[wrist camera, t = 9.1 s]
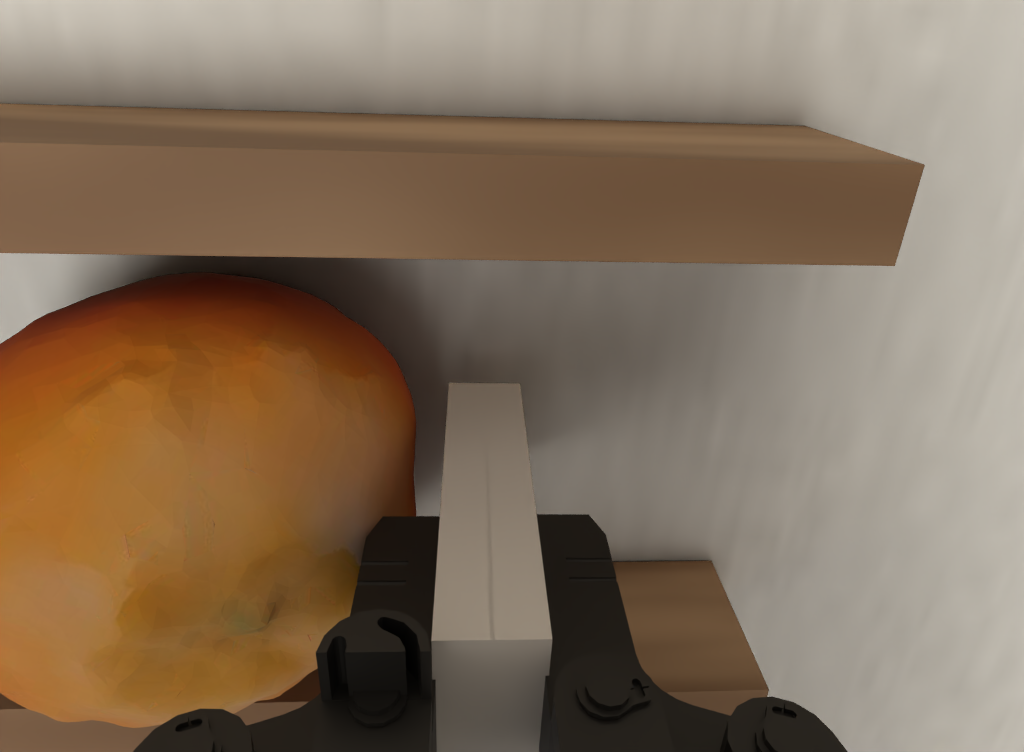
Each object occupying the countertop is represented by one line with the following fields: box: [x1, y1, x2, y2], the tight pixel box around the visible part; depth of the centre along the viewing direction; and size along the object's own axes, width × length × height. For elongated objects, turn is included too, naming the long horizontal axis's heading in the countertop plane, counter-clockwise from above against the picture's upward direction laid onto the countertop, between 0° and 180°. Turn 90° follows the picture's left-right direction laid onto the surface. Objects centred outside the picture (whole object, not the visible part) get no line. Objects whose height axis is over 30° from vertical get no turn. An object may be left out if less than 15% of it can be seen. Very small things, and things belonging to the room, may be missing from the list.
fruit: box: [0, 272, 416, 728], centre depth 13 cm, size 8×8×8 cm
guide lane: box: [0, 104, 924, 752], centre depth 13 cm, size 12×26×6 cm, turn 88°
